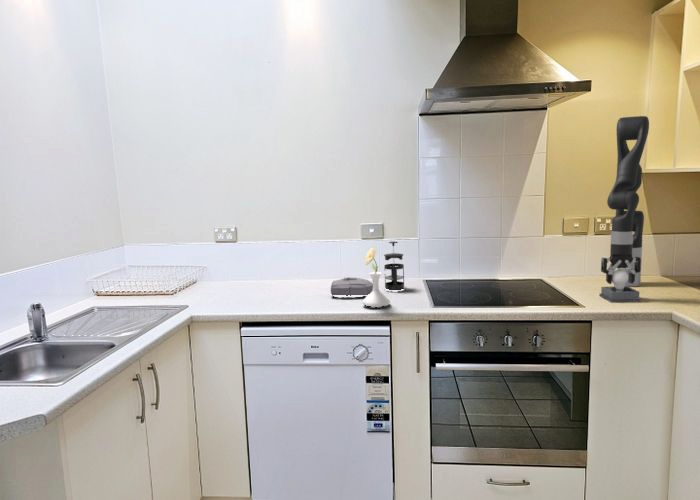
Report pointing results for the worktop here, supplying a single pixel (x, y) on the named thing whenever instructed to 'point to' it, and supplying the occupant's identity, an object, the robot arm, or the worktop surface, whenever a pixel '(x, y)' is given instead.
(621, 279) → the lightbulb
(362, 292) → the soft grey pack
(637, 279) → the robot arm
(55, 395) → the worktop surface
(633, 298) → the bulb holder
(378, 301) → the flower in vase
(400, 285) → the french press
